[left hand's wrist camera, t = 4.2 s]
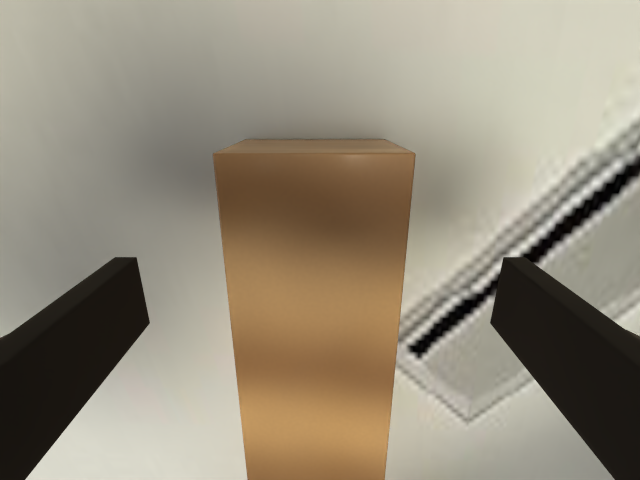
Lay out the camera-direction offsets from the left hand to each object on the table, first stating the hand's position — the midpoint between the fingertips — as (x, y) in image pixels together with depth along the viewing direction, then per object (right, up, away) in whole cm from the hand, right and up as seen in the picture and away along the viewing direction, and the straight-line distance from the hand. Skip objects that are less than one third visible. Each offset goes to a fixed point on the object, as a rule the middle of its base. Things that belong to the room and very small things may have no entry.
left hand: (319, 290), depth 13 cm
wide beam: (0, -21, +19) cm, 29 cm away
